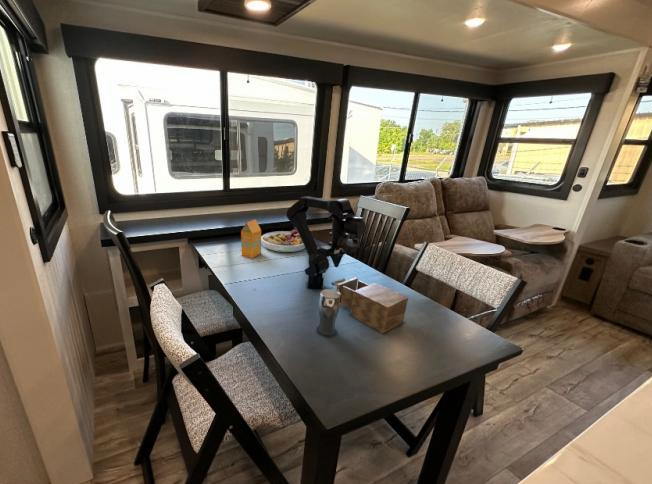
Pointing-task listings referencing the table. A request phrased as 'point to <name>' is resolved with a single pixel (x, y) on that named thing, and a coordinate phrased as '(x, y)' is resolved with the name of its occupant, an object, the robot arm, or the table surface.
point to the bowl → (283, 241)
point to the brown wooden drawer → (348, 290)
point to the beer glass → (328, 311)
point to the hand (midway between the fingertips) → (336, 267)
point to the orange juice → (251, 239)
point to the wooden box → (379, 307)
